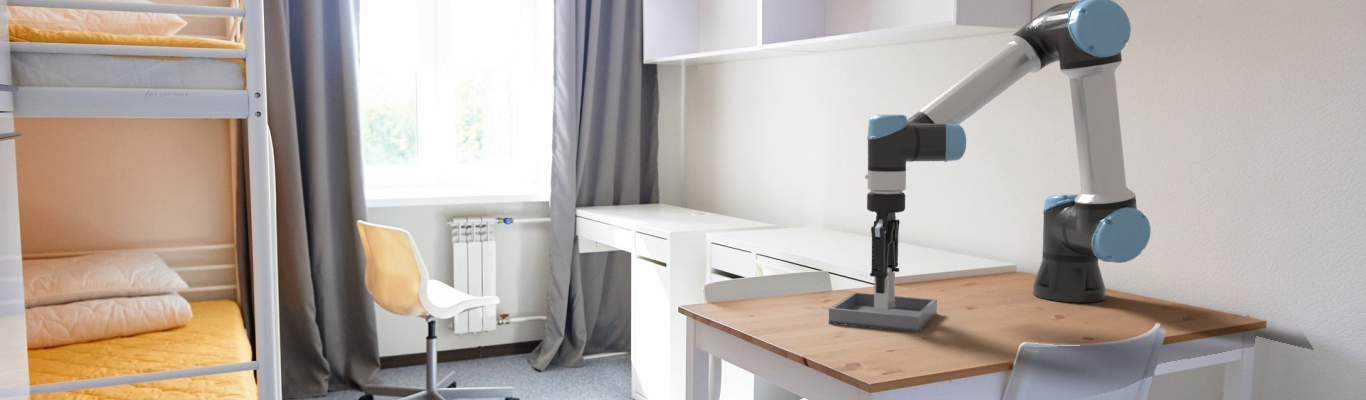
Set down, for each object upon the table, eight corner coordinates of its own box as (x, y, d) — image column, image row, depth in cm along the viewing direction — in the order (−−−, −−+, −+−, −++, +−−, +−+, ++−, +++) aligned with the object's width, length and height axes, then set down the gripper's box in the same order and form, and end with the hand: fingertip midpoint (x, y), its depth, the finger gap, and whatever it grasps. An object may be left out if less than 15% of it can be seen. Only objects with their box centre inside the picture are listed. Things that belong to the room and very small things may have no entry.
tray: (936, 313, 196) (936, 299, 195) (917, 332, 180) (918, 317, 180) (853, 305, 203) (854, 292, 203) (828, 323, 188) (829, 308, 187)
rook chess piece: (883, 310, 188) (883, 271, 187) (868, 306, 192) (869, 267, 191) (900, 308, 190) (901, 269, 190) (886, 304, 194) (886, 265, 193)
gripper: (879, 187, 198) (877, 296, 201) (855, 195, 183) (854, 313, 185) (914, 188, 195) (912, 299, 197) (894, 196, 179) (892, 316, 182)
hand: (884, 305), depth 191 cm, fingers closed on rook chess piece, 4 cm apart
